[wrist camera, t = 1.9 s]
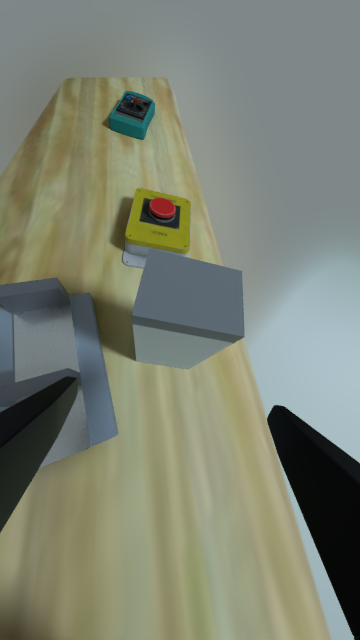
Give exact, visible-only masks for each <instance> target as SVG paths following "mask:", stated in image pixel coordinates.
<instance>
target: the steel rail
mask: <svg viewBox="0 0 360 640" xmlns="http://www.w3.org/2000/svg"><path fill="white" fill-rule="evenodd" d="M69 299H70V295H69ZM14 352H15V382H19V381H22V380H26V379H30V378H33V377H37V376H41V375H44V374H48V373H52V372H55V371H59V370H63V369H66V368H70V369H72V370H75V371H77V372H80V376H81V383H82V386H79V387H78V393H77V397H76V400H75V402H74V404H73V406H72V408H71V410H70V412H69V414H68V416H67V419H66V421H65V423H64V425H63V427H62V429H61V431H60V433H59V435H58V437H57V439H56V441H55V442H54V444H53V446H52V447H51V449H50V451H49V452H48V454H47V456H46V457H45V459H44V461H43V462H42V464H41V466H40V467H39V468H42V467H44V466H46V465H49V464H51V463H54V462H56V461H59V460H61V459H63V458H66V457H68V456H71V455H73V454H76V453H78V452H80V451H83V450H85V449H88V448H90V447H91V446H92V444H91V437H90V430H89V423H88V416H87V409H86V403H85V396H84V389H83V382H82V375H81V368H80V361H79V354H78V347H77V340H76V333H75V326H74V319H73V312H72V306H71V299H70V304H66V305H60V306H54V307H49V308H43V309H37V310H31V311H26V312H20V313H14Z"/></svg>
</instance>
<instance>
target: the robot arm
mask: <svg viewBox="0 0 360 640" xmlns="http://www.w3.org/2000/svg"><path fill="white" fill-rule="evenodd" d="M77 393H78V378H77V377H72V376H66V377H64V378H62V379H60V380H58V381H56V382H55V383H53V384H51V385H49V386H47V387H45V388H44V389H42V390H40V391H38V392H36V393H34V394H33V395H31V396H29V397H27V398H25V399H23V400H22V401H20V402H18V403H16V404H14V405H12V406H11V407H9V408H7V409H5V410H3V411H1V412H0V532H1V531H2V529H3V527H4V526H5V524H6V522H7V521H8V519H9V517H10V516H11V514H12V512H13V511H14V509H15V507H16V506H17V504H18V502H19V501H20V499H21V497H22V496H23V494H24V492H25V491H26V489H27V487H28V486H29V484H30V482H31V481H32V479H33V477H34V476H35V474H36V472H37V471H38V469H39V467H40V466H41V464H42V462H43V461H44V459H45V457H46V456H47V454H48V452H49V451H50V449H51V447H52V446H53V444H54V442H55V441H56V439H57V437H58V435H59V433H60V431H61V429H62V427H63V425H64V423H65V421H66V419H67V416H68V414H69V412H70V410H71V408H72V406H73V404H74V402H75V400H76V397H77ZM267 422H268V425H269V428H270V431H271V435H272V438H273V441H274V444H275V447H276V450H277V453H278V456H279V459H280V461H281V464H282V466H283V468H284V471H285V473H286V475H287V478H288V480H289V483H290V485H291V488H292V490H293V493H294V495H295V497H296V500H297V502H298V504H299V507H300V509H301V512H302V514H303V517H304V519H305V521H306V524H307V526H308V528H309V531H310V533H311V536H312V538H313V541H314V543H315V546H316V548H317V550H318V553H319V555H320V558H321V560H322V562H323V565H324V567H325V569H326V572H327V574H328V577H329V579H330V581H331V584H332V586H333V589H334V591H335V594H336V596H337V598H338V601H339V603H340V606H341V608H342V610H343V613H344V615H345V617H346V620H347V622H348V625H349V627H350V630H351V632H352V634H353V636H354V640H360V463H359V462H357V461H356V460H355V459H353V458H352V457H351V456H349V455H348V454H347V453H345V452H344V451H343V450H341V449H340V448H339V447H337V446H336V445H335V444H333V443H332V442H331V441H329V440H328V439H327V438H325V437H324V436H323V435H321V434H320V433H319V432H317V431H316V430H315V429H313V428H312V427H311V426H309V425H308V424H307V423H305V422H304V421H303V420H302V419H300V418H299V417H298V416H296V415H295V414H293V413H292V412H290V411H289V410H288V409H287V408H286V407H284V406H279V405H275V406H274V407H273V408H272V410H271V412H270V413H269V415H268V418H267Z"/></svg>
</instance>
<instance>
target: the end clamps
mask: <svg viewBox="0 0 360 640" xmlns="http://www.w3.org/2000/svg"><path fill="white" fill-rule="evenodd" d="M66 304H70V299H69V294H68V292H67V291H66V289H65V288H64V287H63V285H62V284H61V282H60V281H59V279H58V278H51V279H43V280H36V281H28V282H20V283H13V284H5V285H0V305H1V306H3V307H4V308H6V309H7V310H9V311H10V312H12V313H13V314H14V313H20V312H26V311H31V310H37V309H43V308H49V307H54V306H60V305H66ZM66 376H72V377H77V378H78V387H79V386H82V383H81V376H80V372H77V371H75V370H72V369H70V368H66V369H63V370H59V371H55V372H52V373H48V374H44V375H41V376H37V377H33V378H30V379H26V380H22V381H19V382H15V383H11V384H8V385H4V386H0V407H7V406H12V405H14V404H16V403H18V402H20V401H22V400H23V399H25V398H27V397H29V396H31V395H33V394H34V393H36V392H38V391H40V390H42V389H44V388H45V387H47V386H49V385H51V384H53V383H55V382H56V381H58V380H60V379H62V378H64V377H66Z"/></svg>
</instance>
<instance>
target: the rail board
mask: <svg viewBox="0 0 360 640" xmlns="http://www.w3.org/2000/svg"><path fill="white" fill-rule="evenodd" d="M70 299H71V306H72V312H73V319H74V326H75V333H76V340H77V347H78V354H79V361H80V368H81V375H82V382H83V389H84V396H85V403H86V409H87V416H88V423H89V430H90V437H91V444H92V446H93V445H96V444H98V443H101V442H103V441H105V440H108V439H110V438H113V437H115V436H117V434H118V430H117V424H116V419H115V414H114V409H113V403H112V398H111V393H110V388H109V382H108V377H107V372H106V367H105V361H104V356H103V351H102V346H101V340H100V335H99V330H98V325H97V320H96V314H95V309H94V304H93V299H92V297H91V295H90V293H84V294H78V295H72V296H70ZM11 383H15V352H14V314H13V313H12V312H10V311H9V310H7V309H6V308H4V307H0V386H4V385H8V384H11ZM9 407H11V406H7V407H0V412H1V411H3V410H5V409H7V408H9Z"/></svg>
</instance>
